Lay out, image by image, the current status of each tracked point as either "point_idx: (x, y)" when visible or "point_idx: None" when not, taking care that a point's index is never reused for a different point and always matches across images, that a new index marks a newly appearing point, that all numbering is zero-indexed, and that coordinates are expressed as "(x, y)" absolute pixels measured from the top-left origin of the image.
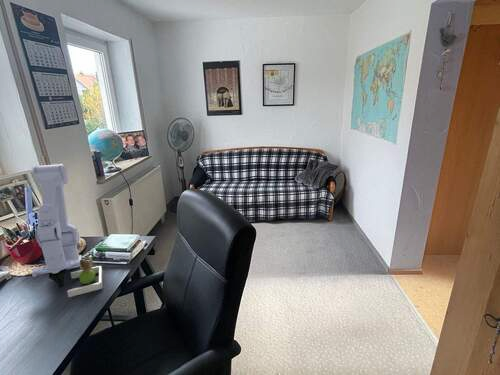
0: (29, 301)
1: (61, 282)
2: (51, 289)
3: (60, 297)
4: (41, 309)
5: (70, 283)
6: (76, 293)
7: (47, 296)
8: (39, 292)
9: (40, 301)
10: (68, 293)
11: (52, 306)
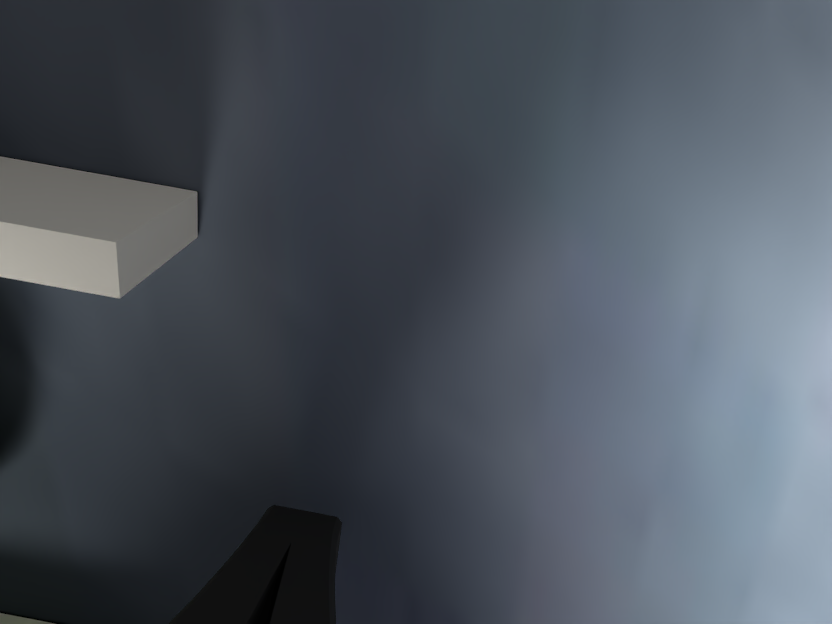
0: (827, 498)
1: (226, 613)
2: (476, 588)
3: (347, 290)
4: (719, 99)
5: (208, 565)
6: (13, 174)
7: (551, 457)
8: (641, 619)
9: (677, 389)
10: (133, 218)
11: (504, 62)
